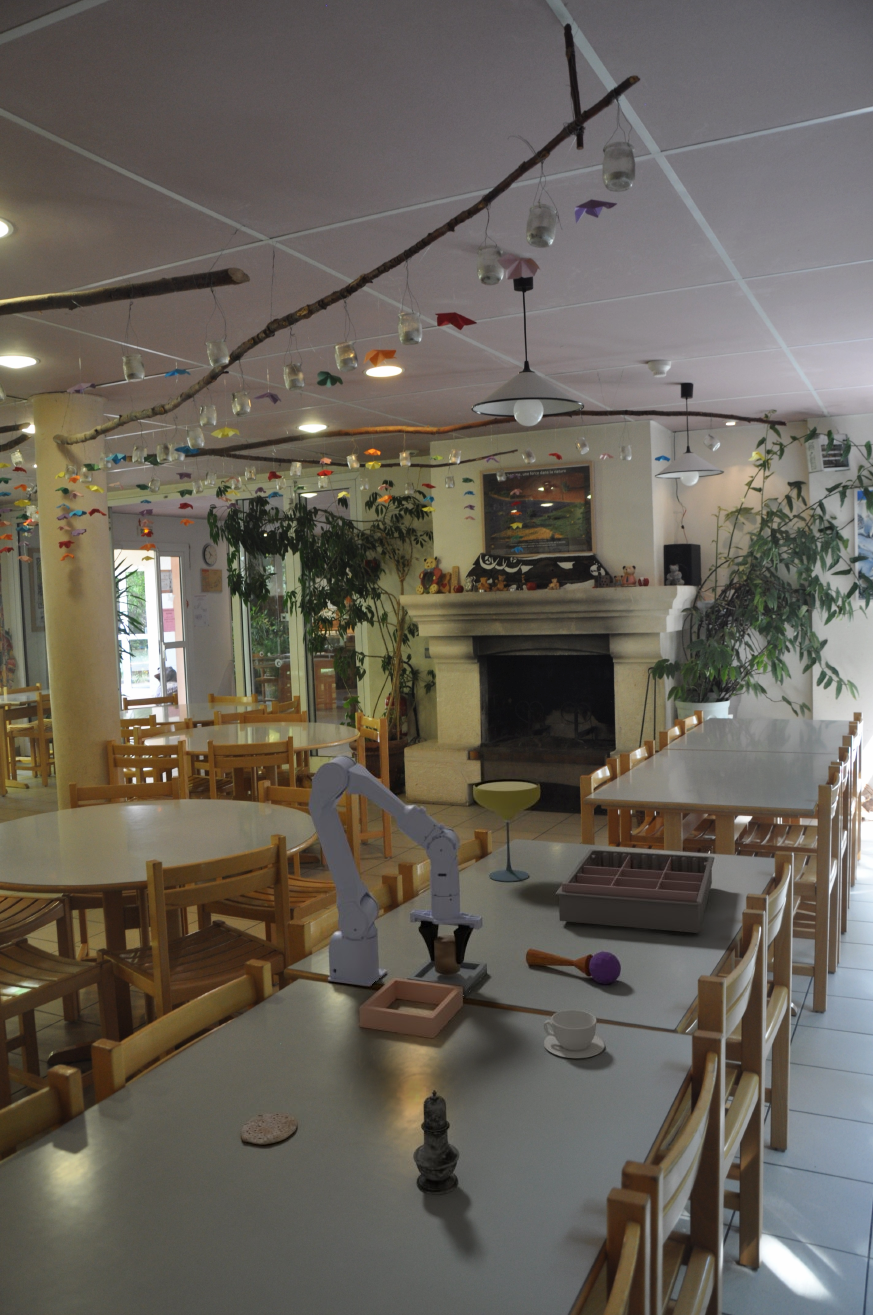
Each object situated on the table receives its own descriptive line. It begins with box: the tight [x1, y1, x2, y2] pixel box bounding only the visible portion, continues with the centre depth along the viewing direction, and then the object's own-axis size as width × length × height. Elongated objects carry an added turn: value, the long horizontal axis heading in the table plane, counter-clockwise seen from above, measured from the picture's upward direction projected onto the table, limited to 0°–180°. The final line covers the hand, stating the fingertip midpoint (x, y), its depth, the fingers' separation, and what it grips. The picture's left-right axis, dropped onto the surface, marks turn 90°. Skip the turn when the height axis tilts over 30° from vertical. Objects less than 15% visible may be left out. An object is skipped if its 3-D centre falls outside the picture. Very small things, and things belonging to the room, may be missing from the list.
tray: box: [406, 957, 488, 997], centre depth 185 cm, size 12×12×2 cm
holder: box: [358, 977, 464, 1039], centre depth 169 cm, size 14×14×4 cm
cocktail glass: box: [472, 778, 541, 883], centre depth 255 cm, size 18×18×25 cm
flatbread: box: [240, 1111, 298, 1146], centre depth 133 cm, size 8×8×1 cm
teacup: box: [543, 1009, 606, 1059], centre depth 156 cm, size 10×10×5 cm
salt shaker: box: [412, 1089, 460, 1196], centre depth 120 cm, size 6×6×12 cm
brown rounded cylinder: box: [434, 934, 460, 975], centre depth 185 cm, size 5×5×6 cm
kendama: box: [525, 947, 622, 985], centre depth 186 cm, size 6×6×20 cm
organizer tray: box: [555, 849, 715, 934], centre depth 227 cm, size 32×40×10 cm
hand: (447, 961), depth 185 cm, fingers closed on brown rounded cylinder, 5 cm apart
